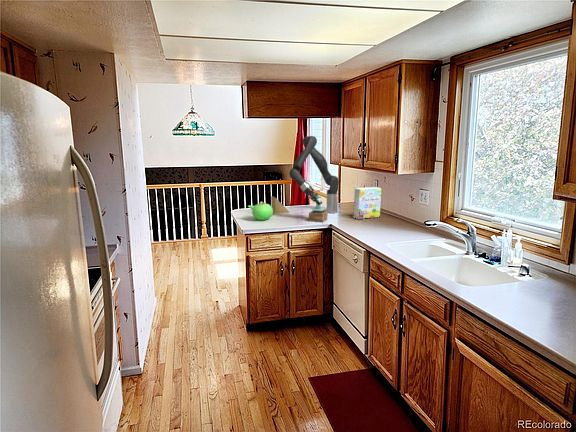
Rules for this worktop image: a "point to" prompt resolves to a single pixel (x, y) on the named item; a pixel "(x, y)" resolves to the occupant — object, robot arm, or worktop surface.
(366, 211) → the snack box
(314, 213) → the walnut box
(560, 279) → the worktop surface
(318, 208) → the teal piece
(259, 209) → the green teapot
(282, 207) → the sandwich container
